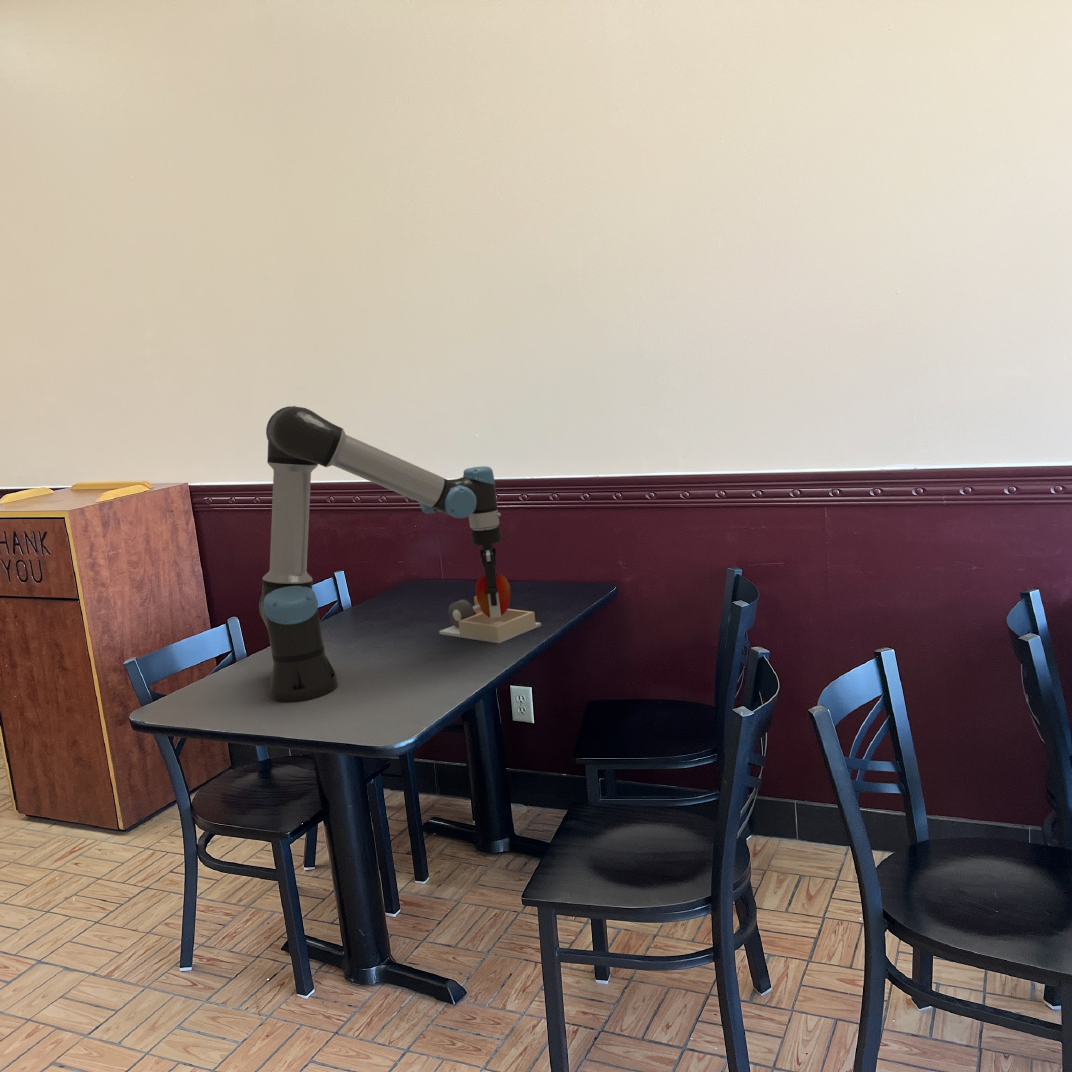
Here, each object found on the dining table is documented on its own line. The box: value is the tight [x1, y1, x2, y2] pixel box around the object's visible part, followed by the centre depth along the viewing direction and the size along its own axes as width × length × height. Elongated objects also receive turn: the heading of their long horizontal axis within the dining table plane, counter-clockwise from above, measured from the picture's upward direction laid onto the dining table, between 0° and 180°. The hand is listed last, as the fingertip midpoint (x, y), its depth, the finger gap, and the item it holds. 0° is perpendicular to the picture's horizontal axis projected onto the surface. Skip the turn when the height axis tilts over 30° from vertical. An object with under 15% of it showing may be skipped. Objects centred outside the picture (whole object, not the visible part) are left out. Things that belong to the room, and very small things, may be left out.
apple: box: [474, 573, 512, 618], centre depth 251 cm, size 9×9×12 cm
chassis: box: [438, 595, 542, 644], centre depth 256 cm, size 16×22×7 cm
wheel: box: [447, 598, 480, 628], centre depth 260 cm, size 8×7×7 cm
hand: (495, 612), depth 252 cm, fingers closed on apple, 9 cm apart
